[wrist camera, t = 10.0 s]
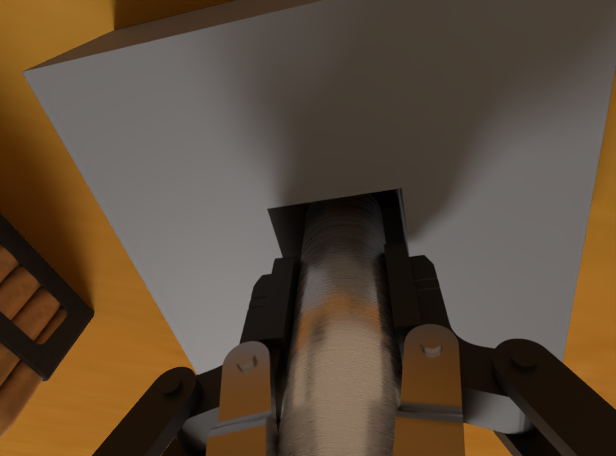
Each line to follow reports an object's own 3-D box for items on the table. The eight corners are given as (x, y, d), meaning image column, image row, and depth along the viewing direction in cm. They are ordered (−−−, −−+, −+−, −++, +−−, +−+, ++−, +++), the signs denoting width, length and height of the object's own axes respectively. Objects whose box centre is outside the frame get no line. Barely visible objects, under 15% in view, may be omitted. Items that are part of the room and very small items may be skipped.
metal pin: (314, 253, 18) (291, 523, 10) (298, 193, 16) (254, 457, 8) (386, 244, 17) (424, 521, 9) (377, 180, 16) (413, 450, 8)
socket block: (236, 309, 26) (211, 397, 21) (113, 30, 17) (21, 71, 12) (514, 278, 23) (560, 372, 18) (539, -75, 14) (641, -76, 9)
